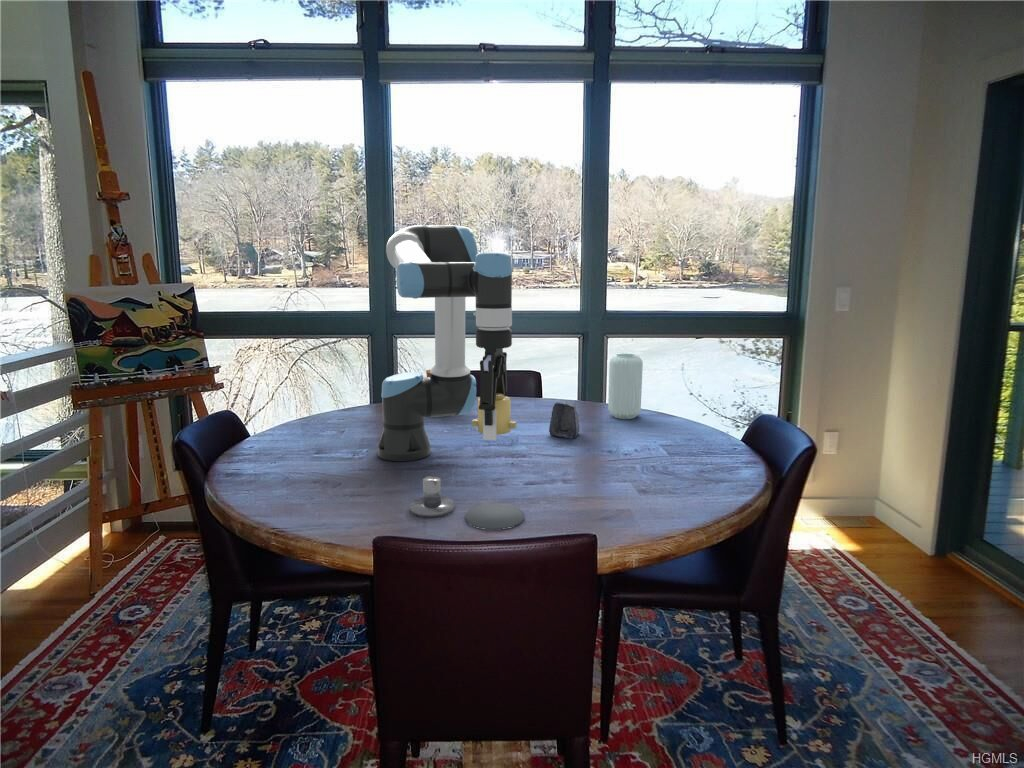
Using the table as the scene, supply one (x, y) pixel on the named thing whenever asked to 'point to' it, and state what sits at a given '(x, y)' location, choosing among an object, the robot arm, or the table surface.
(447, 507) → the metal disc with peg
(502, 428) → the cap
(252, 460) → the table surface
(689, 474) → the table surface
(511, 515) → the rubber mat
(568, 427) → the stone
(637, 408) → the vase
